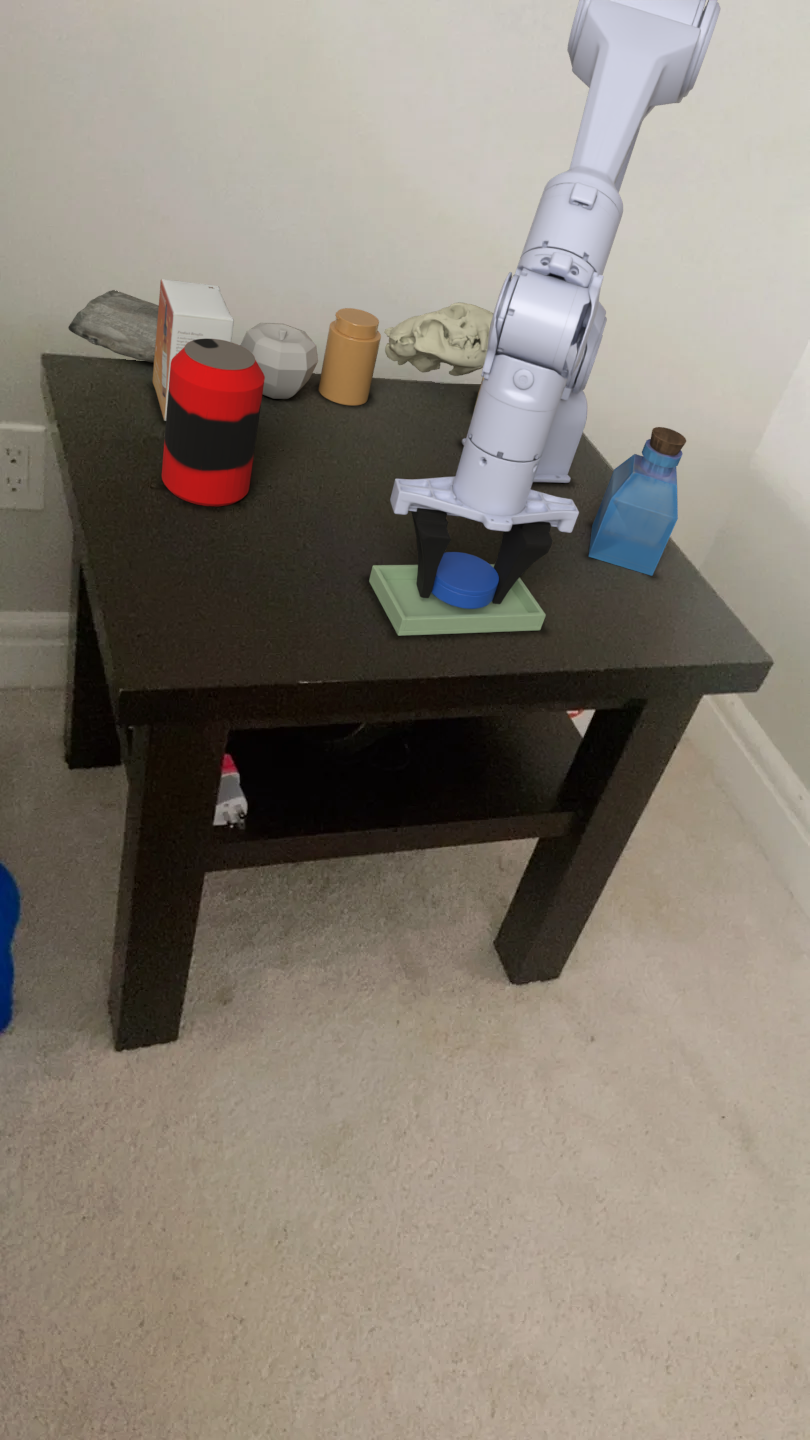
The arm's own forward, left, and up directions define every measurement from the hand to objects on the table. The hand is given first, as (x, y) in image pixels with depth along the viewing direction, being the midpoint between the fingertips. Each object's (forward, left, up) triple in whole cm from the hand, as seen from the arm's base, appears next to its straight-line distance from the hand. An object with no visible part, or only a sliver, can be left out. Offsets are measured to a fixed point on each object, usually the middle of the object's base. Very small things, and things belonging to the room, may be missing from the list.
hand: (458, 593), depth 86 cm
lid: (0, 0, +2) cm, 2 cm away
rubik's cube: (-20, -36, -1) cm, 41 cm away
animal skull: (-14, -39, +1) cm, 41 cm away
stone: (+10, -40, +1) cm, 42 cm away
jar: (-2, -38, -1) cm, 38 cm away
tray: (0, 0, -1) cm, 1 cm away
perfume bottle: (-21, -8, -1) cm, 23 cm away
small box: (+16, -34, -1) cm, 37 cm away
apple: (+6, -37, -1) cm, 38 cm away
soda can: (+17, -18, -1) cm, 25 cm away
